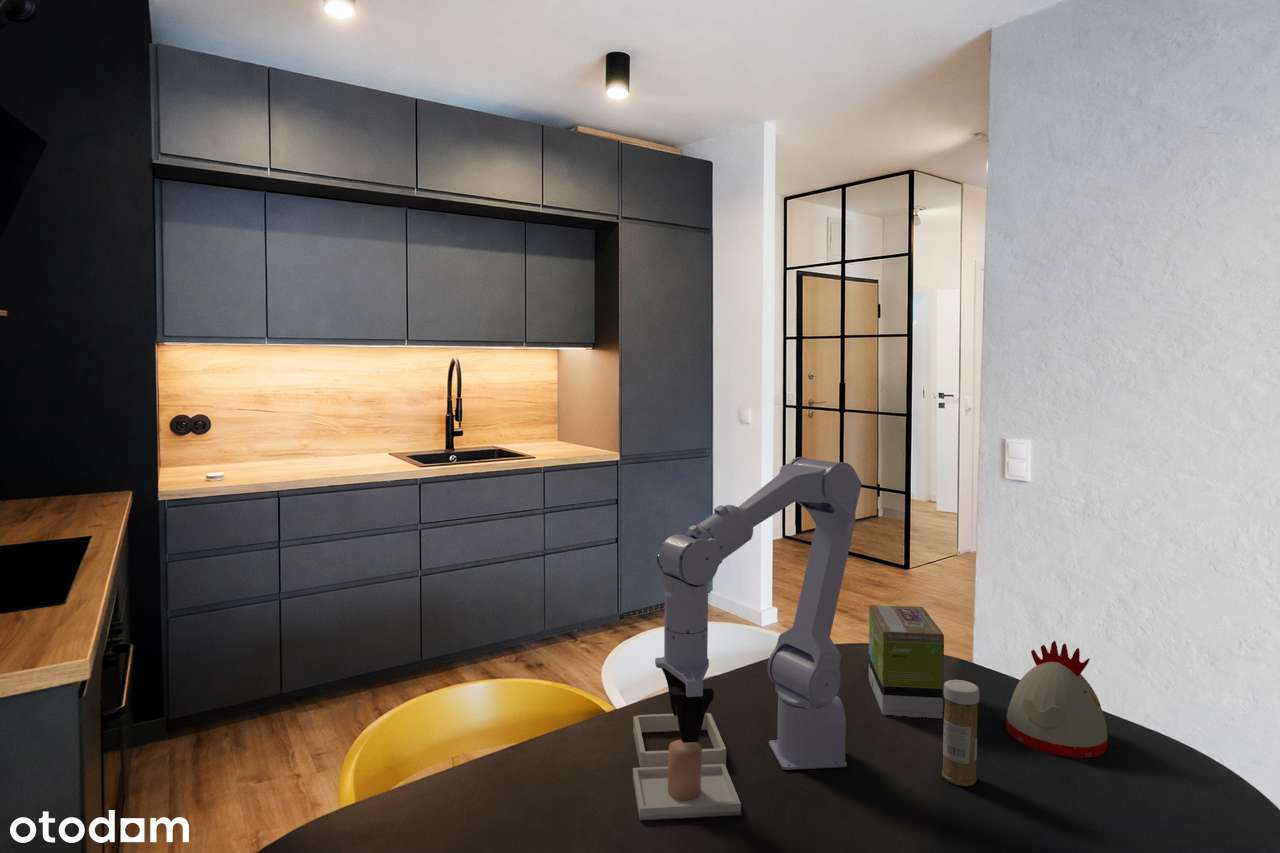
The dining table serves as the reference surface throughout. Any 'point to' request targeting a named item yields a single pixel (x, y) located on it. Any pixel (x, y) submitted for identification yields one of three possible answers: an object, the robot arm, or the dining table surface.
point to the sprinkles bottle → (960, 732)
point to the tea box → (906, 661)
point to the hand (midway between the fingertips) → (685, 727)
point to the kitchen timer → (1057, 707)
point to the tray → (660, 805)
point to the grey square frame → (671, 724)
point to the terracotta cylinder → (684, 770)
